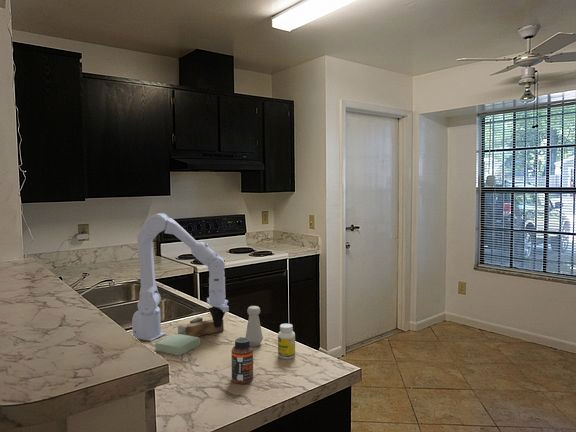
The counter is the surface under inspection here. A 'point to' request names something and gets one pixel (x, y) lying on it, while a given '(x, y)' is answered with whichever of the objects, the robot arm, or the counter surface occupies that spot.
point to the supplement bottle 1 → (242, 361)
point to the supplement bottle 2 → (286, 341)
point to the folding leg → (199, 328)
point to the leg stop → (196, 320)
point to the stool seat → (177, 344)
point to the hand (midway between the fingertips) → (217, 326)
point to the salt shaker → (254, 327)
